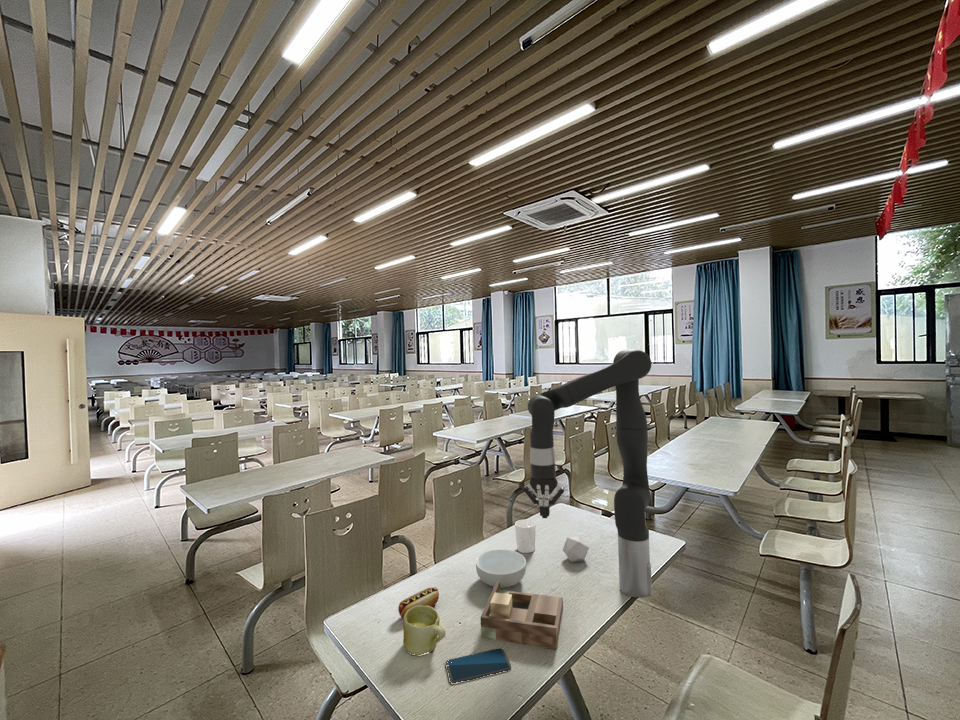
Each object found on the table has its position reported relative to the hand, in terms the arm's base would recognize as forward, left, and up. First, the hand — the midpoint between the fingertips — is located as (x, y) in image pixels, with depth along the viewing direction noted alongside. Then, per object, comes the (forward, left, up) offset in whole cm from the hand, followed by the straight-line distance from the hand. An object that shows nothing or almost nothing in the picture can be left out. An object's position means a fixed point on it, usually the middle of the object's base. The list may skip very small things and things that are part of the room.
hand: (544, 517), depth 129 cm
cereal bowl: (+16, -6, -25) cm, 31 cm away
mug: (+28, +29, -25) cm, 48 cm away
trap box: (+5, +13, -25) cm, 29 cm away
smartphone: (+13, +32, -26) cm, 43 cm away
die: (-7, -26, -25) cm, 37 cm away
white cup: (+12, -30, -25) cm, 41 cm away
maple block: (+11, +16, -22) cm, 29 cm away
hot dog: (+36, +15, -25) cm, 46 cm away
